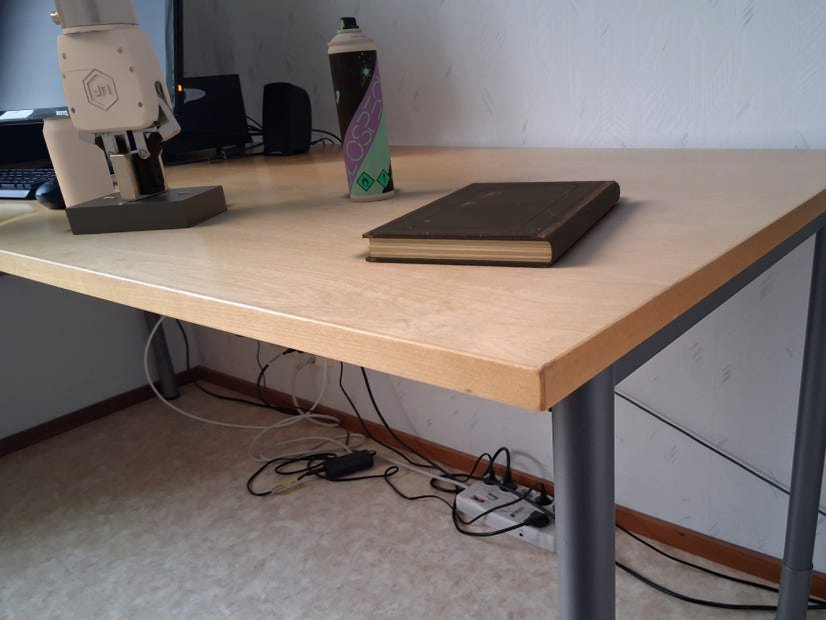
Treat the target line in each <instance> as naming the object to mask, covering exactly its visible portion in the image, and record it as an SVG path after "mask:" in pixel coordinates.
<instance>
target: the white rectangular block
mask: <svg viewBox="0 0 826 620" xmlns="http://www.w3.org/2000/svg"><path fill="white" fill-rule="evenodd" d="M158 157H159V161H160V165H161V169H162V173H163V177H164V185H165V191H169V187H170V186H169V182H168V179H167V175H166V171H165V167H164V163H163V159H162V154H161V155H159V156H158ZM110 159H111V160H110ZM110 159H109V160H110V162H111V166H112V169H113V173H114V176H115V180H116V183H117V187H118V190H119V191H118V192H120V194H121V198H122V201H136V200H140V199H143V198H146V197H149V196H152V195H146V194H145V193H144V190H143V187H142V183H141V179H140V175H139V172H138V168H137V164H136V160H137V159H140V156H139V154H138V151H137V149H136V150H131V152H126V153H121V154H116V155H111V156H110ZM165 191H162V192H165ZM162 192H159V193H162ZM159 193H156V194H159ZM156 194H153V195H156Z"/></svg>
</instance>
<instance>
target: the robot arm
mask: <svg viewBox="0 0 826 620" xmlns="http://www.w3.org/2000/svg"><path fill="white" fill-rule="evenodd" d="M53 3H54V7H55V10H53V11H51V13H50V19H51V21H52V22H53V24H55V25H56V26H59V25H60V27H61V31H62V34H61V35H60V34H59V35H57V36H56V48H57V58H58V59H57V61H58V67H59V72H60V78H61V84H62V89H63V92H64V97H65V101H66V105H67V109H68V112H69V116H71V119H72V122H73V125H74V126H75V128H76V129H77V130H79V137H80V139H81V140H83V141H86V142H88V143H91V144H94V145H97V146H98V147H99V148H100V149H102V150H103V151H104V154H105V155H106V157H107V159H108V160H110V161H111V159H110V156H111V155H116V154H121V153H126V152H131V151H132V147H131V145H130V141H129V136H128V133H127V131H132V135H133V138H134V143H135V147H136V150H137V151H138V154H139V156H140V159H137V160H136V164H137V168H138V172H139V175H140V179H141V183H142V187H143V190H144V193H145V194H146V195H153V194H156V193H159V192H162V191H165V185H164V177H163V173H162V169H161V165H160V161H159V157H158V156H159V155H161V156H162V154H163V149H164V146H165V145H166V143H167V141H168V140H170V139H172V138H173V137H175V136H176V135H178V134H180V133H181V131H182V129H181V126H180V123H178V121H177V119H176V117H175V116H174V111H173V105H172V101H171V97H170V92H169V90H168V86H167V82H166V79H165V76H164V73H163V70H162V66H161V64H160V60H159V59H158V56H157V52H156V50H155V49H154V46H153V44H152V42H151V41H152V40H151V39H150V36H149V35H148V33H147V30H146V29H144V28H143V29H142V28H141V26H140V21H139V18H138V14H137V9H136V6H135V1H134V0H53ZM157 127H159V128H157Z"/></svg>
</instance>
